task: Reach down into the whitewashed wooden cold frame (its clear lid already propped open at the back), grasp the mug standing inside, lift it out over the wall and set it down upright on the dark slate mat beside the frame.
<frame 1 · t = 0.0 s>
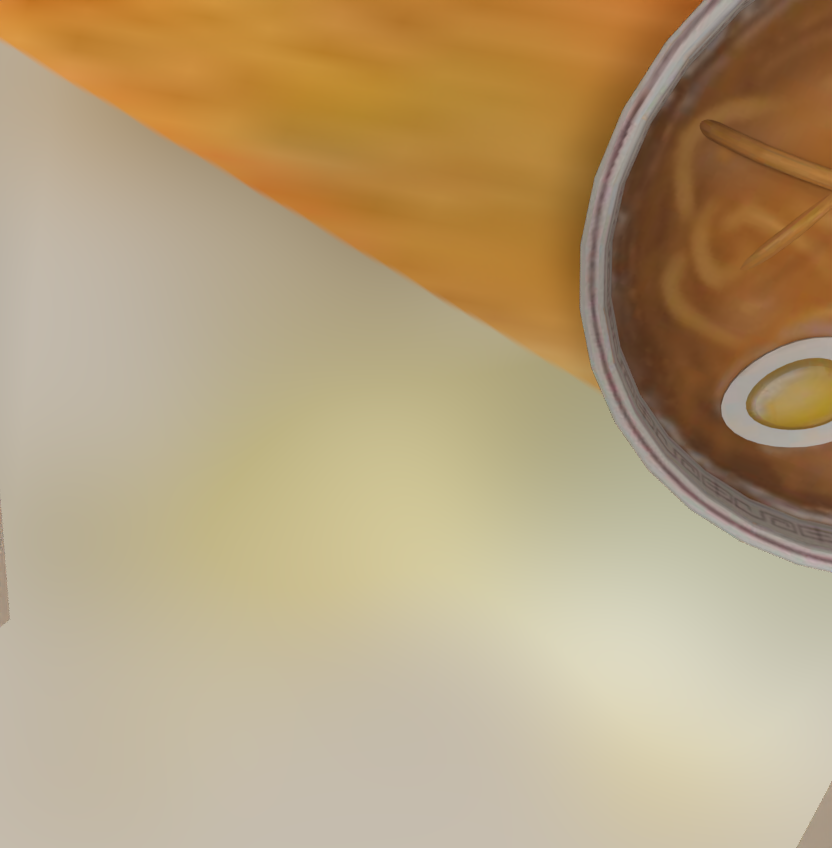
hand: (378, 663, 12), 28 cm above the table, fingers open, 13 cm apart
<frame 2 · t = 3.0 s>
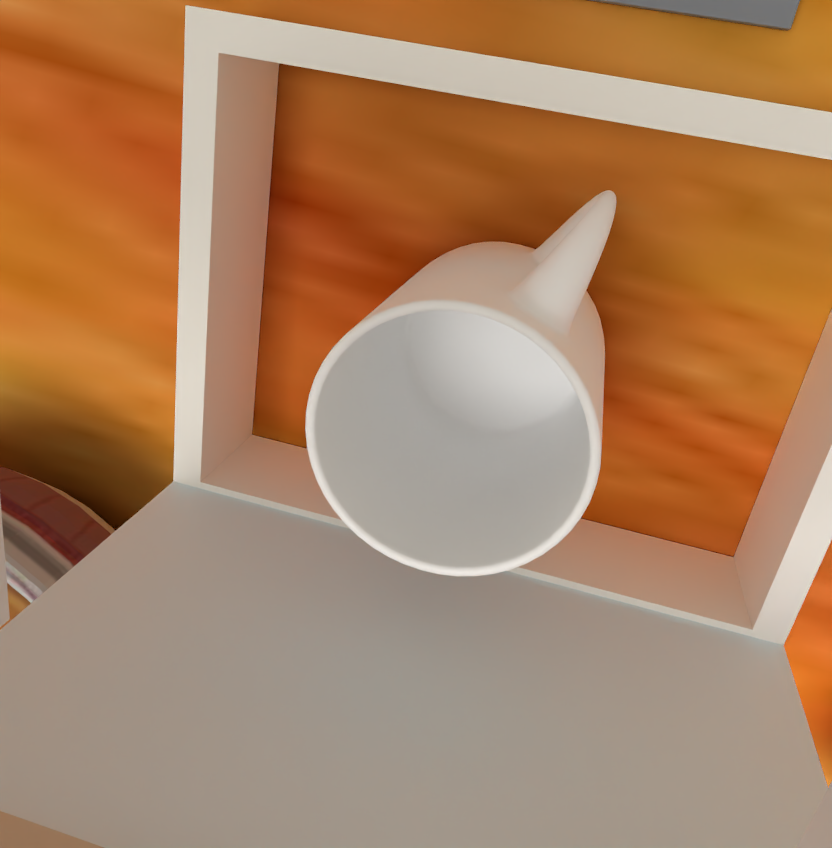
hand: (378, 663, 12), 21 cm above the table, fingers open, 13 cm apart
mug: (522, 308, 31), resting in cold frame
cold frame: (518, 322, 31), on the table
bowl: (57, 585, 43), on the table
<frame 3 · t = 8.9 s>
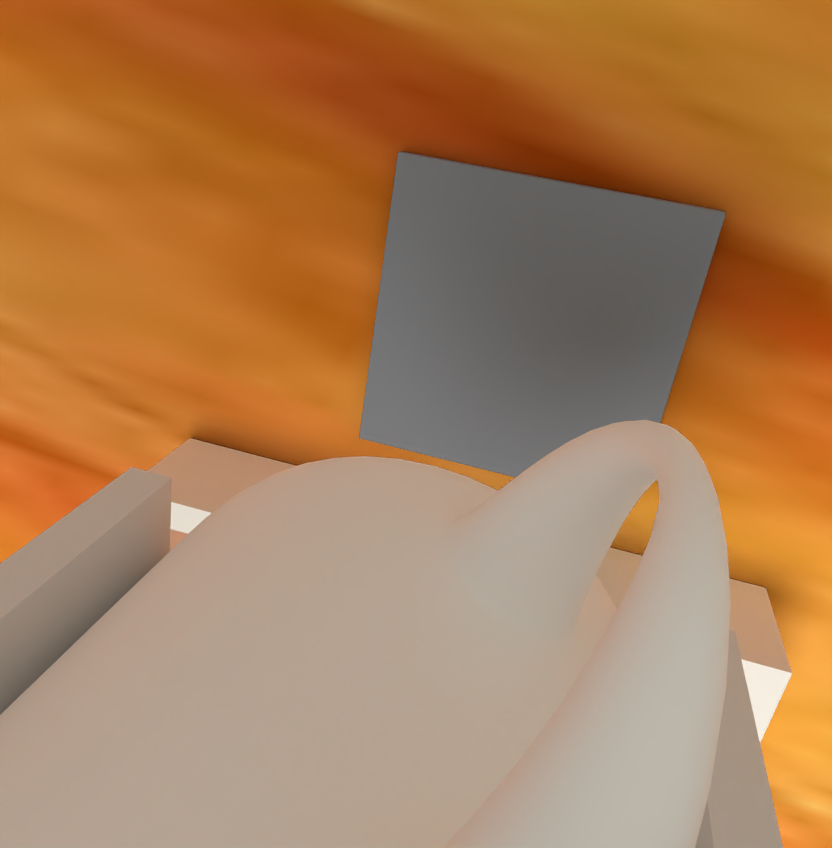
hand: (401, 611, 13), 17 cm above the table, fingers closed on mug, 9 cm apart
mug: (452, 587, 14), point 16 cm above the table, touching gripper
slate mat: (523, 333, 28), on the table
cold frame: (425, 679, 35), on the table
when the fingers open (3 cm above the table, at t = 12.5 s): mug drops 1 cm, resting on slate mat.
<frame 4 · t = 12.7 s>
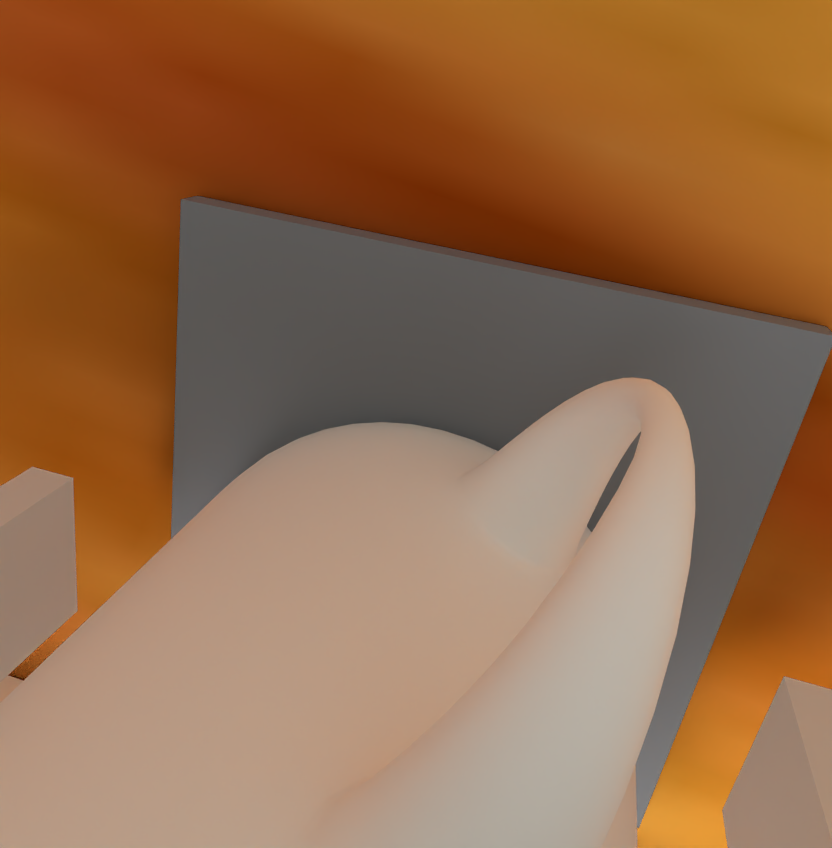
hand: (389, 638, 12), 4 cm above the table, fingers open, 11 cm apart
mug: (458, 544, 15), resting on slate mat
slate mat: (437, 527, 15), on the table
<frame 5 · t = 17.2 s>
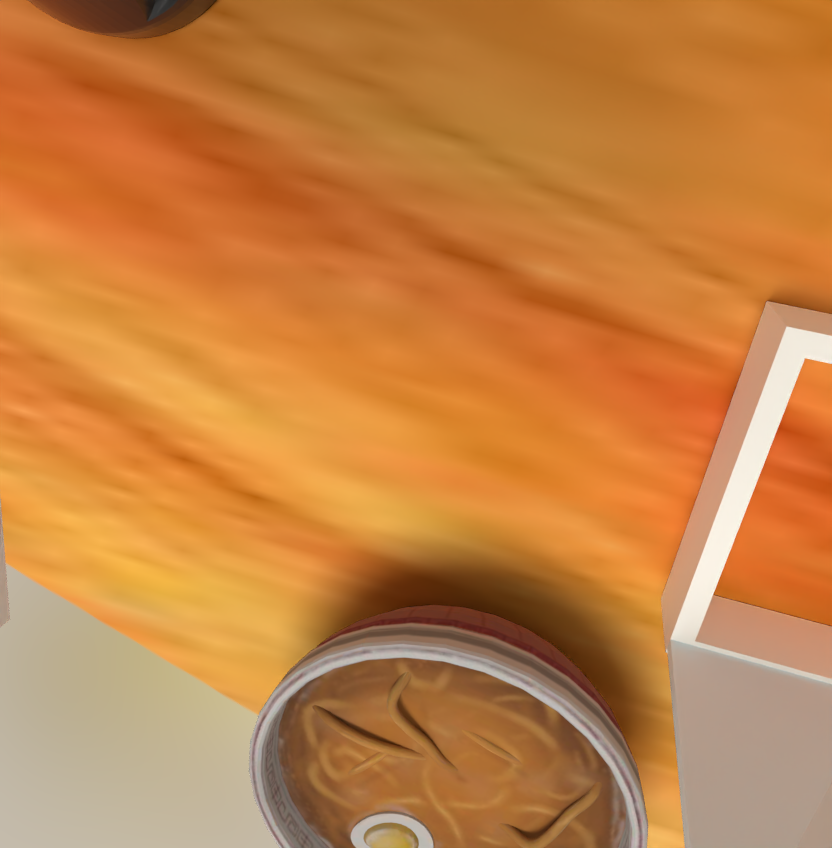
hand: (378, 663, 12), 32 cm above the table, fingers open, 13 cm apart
bowl: (467, 691, 52), on the table
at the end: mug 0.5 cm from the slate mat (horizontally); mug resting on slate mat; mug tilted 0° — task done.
